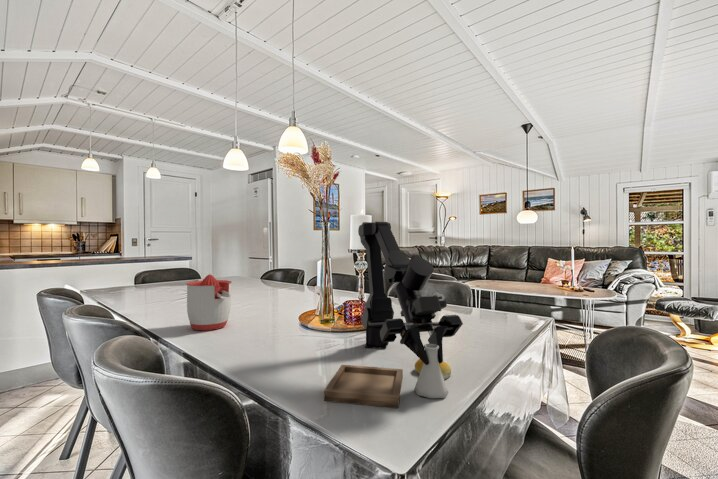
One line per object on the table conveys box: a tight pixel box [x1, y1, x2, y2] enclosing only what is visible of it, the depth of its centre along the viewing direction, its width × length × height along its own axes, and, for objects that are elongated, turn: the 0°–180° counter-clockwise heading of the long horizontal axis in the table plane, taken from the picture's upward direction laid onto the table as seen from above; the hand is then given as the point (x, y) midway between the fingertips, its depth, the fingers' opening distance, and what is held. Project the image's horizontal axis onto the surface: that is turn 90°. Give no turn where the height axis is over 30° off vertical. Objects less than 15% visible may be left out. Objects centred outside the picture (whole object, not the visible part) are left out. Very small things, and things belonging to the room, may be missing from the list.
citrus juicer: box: [186, 273, 232, 332], centre depth 126 cm, size 16×17×20 cm
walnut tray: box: [323, 364, 404, 409], centre depth 74 cm, size 15×15×2 cm
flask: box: [413, 343, 449, 399], centre depth 72 cm, size 7×7×10 cm
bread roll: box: [414, 358, 452, 380], centre depth 83 cm, size 8×9×4 cm
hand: (434, 363), depth 71 cm, fingers closed on flask, 3 cm apart
